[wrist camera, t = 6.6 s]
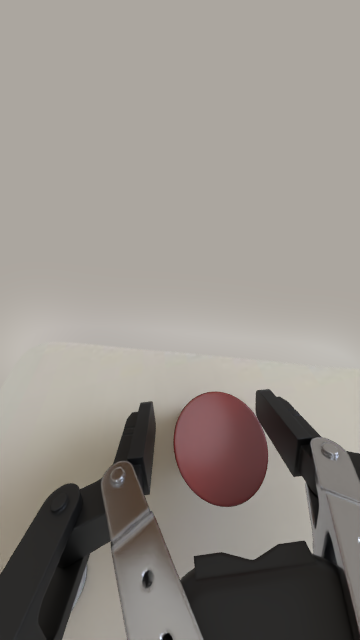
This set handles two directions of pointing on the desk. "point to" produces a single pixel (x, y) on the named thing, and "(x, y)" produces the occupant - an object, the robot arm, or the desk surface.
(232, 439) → the red cylinder
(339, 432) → the desk surface
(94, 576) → the desk surface
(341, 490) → the robot arm
